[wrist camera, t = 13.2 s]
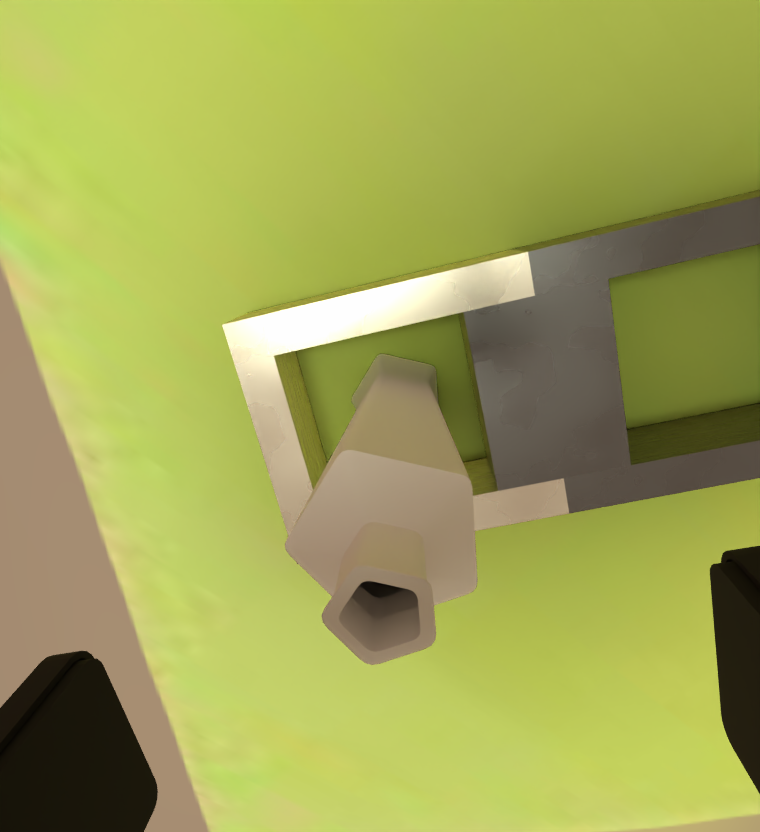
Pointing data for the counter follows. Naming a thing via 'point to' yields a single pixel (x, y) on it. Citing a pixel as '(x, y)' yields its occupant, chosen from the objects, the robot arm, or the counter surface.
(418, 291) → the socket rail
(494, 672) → the counter surface
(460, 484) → the perfume bottle
